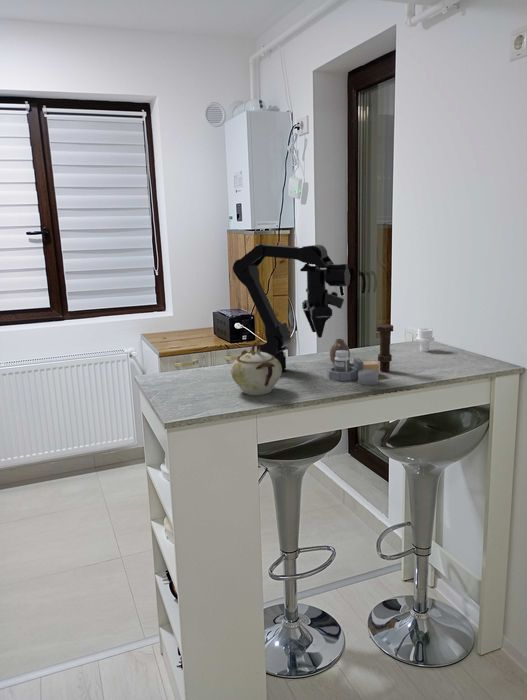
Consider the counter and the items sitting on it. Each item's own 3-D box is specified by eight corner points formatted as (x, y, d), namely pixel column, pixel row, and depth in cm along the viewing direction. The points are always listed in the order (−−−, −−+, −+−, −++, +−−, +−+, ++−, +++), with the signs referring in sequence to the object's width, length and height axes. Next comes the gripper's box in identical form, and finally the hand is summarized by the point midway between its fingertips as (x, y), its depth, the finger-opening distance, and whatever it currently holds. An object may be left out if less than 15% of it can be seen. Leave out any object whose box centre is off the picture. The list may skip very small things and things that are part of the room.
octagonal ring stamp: (331, 381, 182) (331, 365, 181) (325, 374, 191) (325, 358, 189) (381, 378, 183) (381, 362, 182) (372, 371, 192) (372, 355, 191)
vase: (327, 366, 200) (327, 341, 198) (332, 361, 207) (331, 337, 205) (348, 367, 198) (348, 341, 196) (351, 362, 205) (351, 337, 203)
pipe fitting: (421, 348, 223) (422, 327, 221) (437, 350, 218) (438, 329, 216) (411, 350, 219) (411, 329, 218) (427, 353, 214) (427, 331, 212)
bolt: (392, 373, 189) (393, 327, 185) (376, 373, 190) (377, 327, 186) (392, 368, 194) (393, 324, 191) (376, 368, 195) (377, 324, 192)
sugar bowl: (295, 395, 169) (294, 344, 165) (247, 404, 162) (245, 351, 159) (265, 380, 186) (264, 333, 183) (221, 387, 180) (219, 338, 177)
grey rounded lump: (360, 386, 176) (360, 374, 175) (355, 380, 182) (355, 369, 181) (380, 385, 177) (380, 373, 176) (374, 379, 183) (374, 368, 182)
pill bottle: (343, 374, 190) (343, 348, 188) (352, 377, 186) (352, 351, 184) (331, 376, 188) (331, 350, 186) (340, 379, 183) (340, 353, 182)
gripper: (348, 287, 176) (348, 339, 180) (334, 281, 194) (335, 328, 198) (312, 289, 175) (312, 341, 179) (301, 283, 193) (302, 330, 197)
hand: (316, 334), depth 188 cm, fingers open, 9 cm apart
